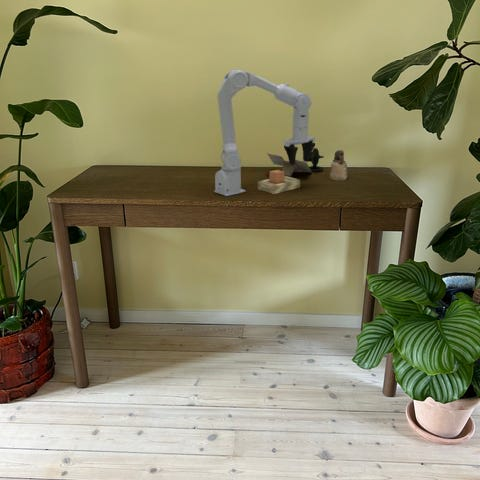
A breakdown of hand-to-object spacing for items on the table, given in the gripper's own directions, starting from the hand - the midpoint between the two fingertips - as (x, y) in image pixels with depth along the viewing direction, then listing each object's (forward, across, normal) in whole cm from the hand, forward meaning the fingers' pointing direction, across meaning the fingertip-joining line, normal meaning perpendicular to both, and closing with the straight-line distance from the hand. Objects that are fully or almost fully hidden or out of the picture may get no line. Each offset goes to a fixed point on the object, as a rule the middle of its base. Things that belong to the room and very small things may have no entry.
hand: (299, 162), depth 186 cm
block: (+10, -8, +4) cm, 13 cm away
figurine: (+10, +23, -1) cm, 25 cm away
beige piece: (+10, -6, +4) cm, 12 cm away
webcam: (+10, +26, +15) cm, 32 cm away
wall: (+10, +12, +17) cm, 23 cm away
